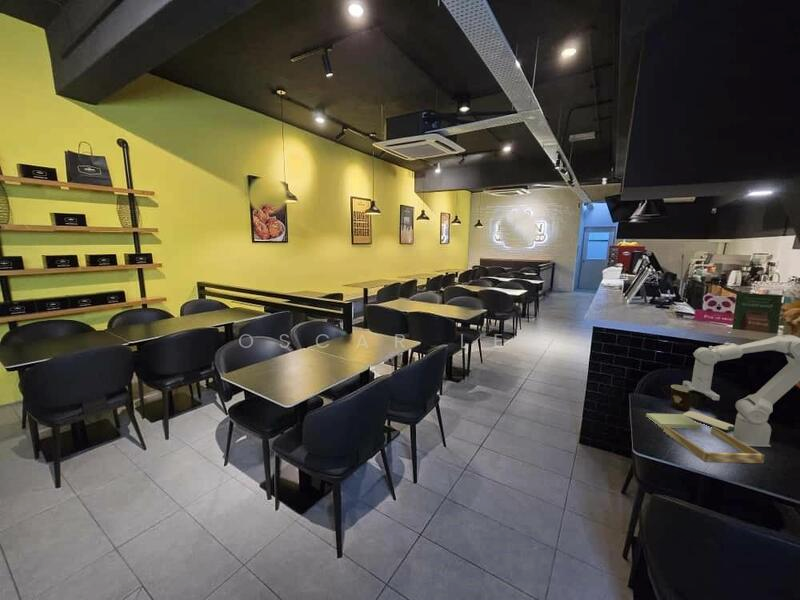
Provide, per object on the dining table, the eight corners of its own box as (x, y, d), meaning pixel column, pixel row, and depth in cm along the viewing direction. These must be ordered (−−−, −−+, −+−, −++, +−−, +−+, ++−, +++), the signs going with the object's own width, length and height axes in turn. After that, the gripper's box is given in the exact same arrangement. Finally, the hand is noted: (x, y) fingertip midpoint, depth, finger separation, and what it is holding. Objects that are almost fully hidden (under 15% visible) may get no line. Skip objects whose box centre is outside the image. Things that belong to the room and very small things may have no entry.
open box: (713, 433, 133) (714, 426, 132) (763, 463, 114) (764, 455, 113) (663, 432, 133) (664, 425, 133) (705, 461, 114) (706, 453, 114)
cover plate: (682, 419, 144) (683, 414, 144) (700, 430, 136) (701, 424, 135) (645, 418, 145) (646, 413, 145) (661, 429, 136) (661, 423, 136)
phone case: (679, 417, 147) (726, 434, 133) (679, 413, 147) (727, 430, 132) (689, 413, 151) (736, 429, 136) (689, 410, 150) (737, 425, 136)
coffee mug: (697, 413, 149) (700, 392, 148) (678, 412, 149) (681, 392, 148) (676, 401, 161) (679, 382, 159) (658, 401, 161) (661, 382, 160)
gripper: (677, 370, 139) (673, 400, 141) (708, 384, 124) (703, 417, 126) (694, 371, 138) (689, 401, 140) (727, 384, 124) (721, 418, 126)
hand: (697, 409), depth 133 cm, fingers closed
